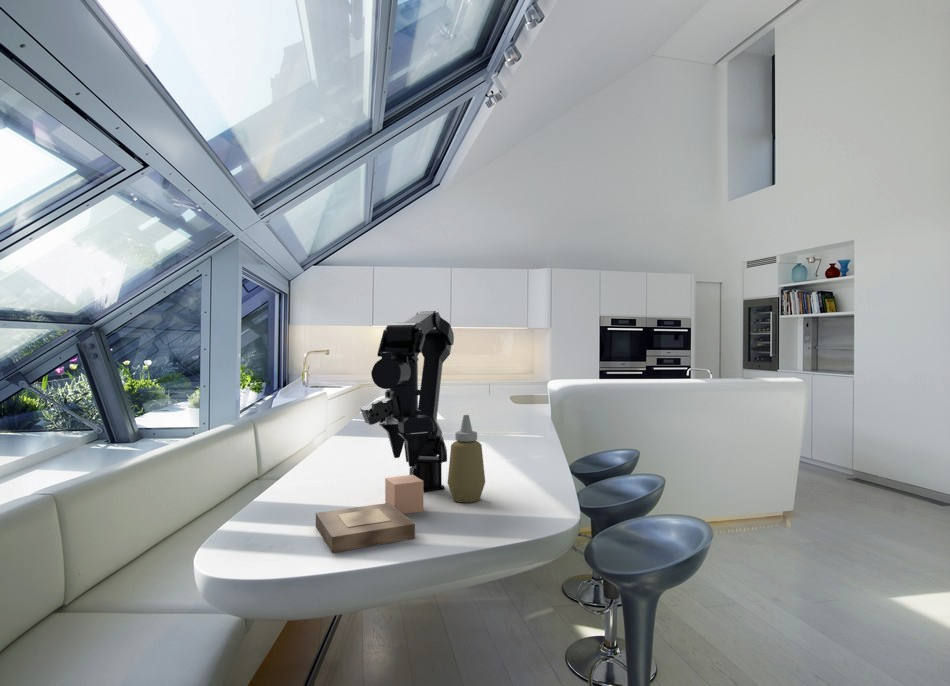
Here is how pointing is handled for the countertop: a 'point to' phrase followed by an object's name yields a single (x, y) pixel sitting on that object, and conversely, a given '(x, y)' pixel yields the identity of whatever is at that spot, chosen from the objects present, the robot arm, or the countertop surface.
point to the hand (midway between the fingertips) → (404, 462)
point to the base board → (363, 526)
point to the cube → (404, 493)
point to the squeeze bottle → (466, 465)
